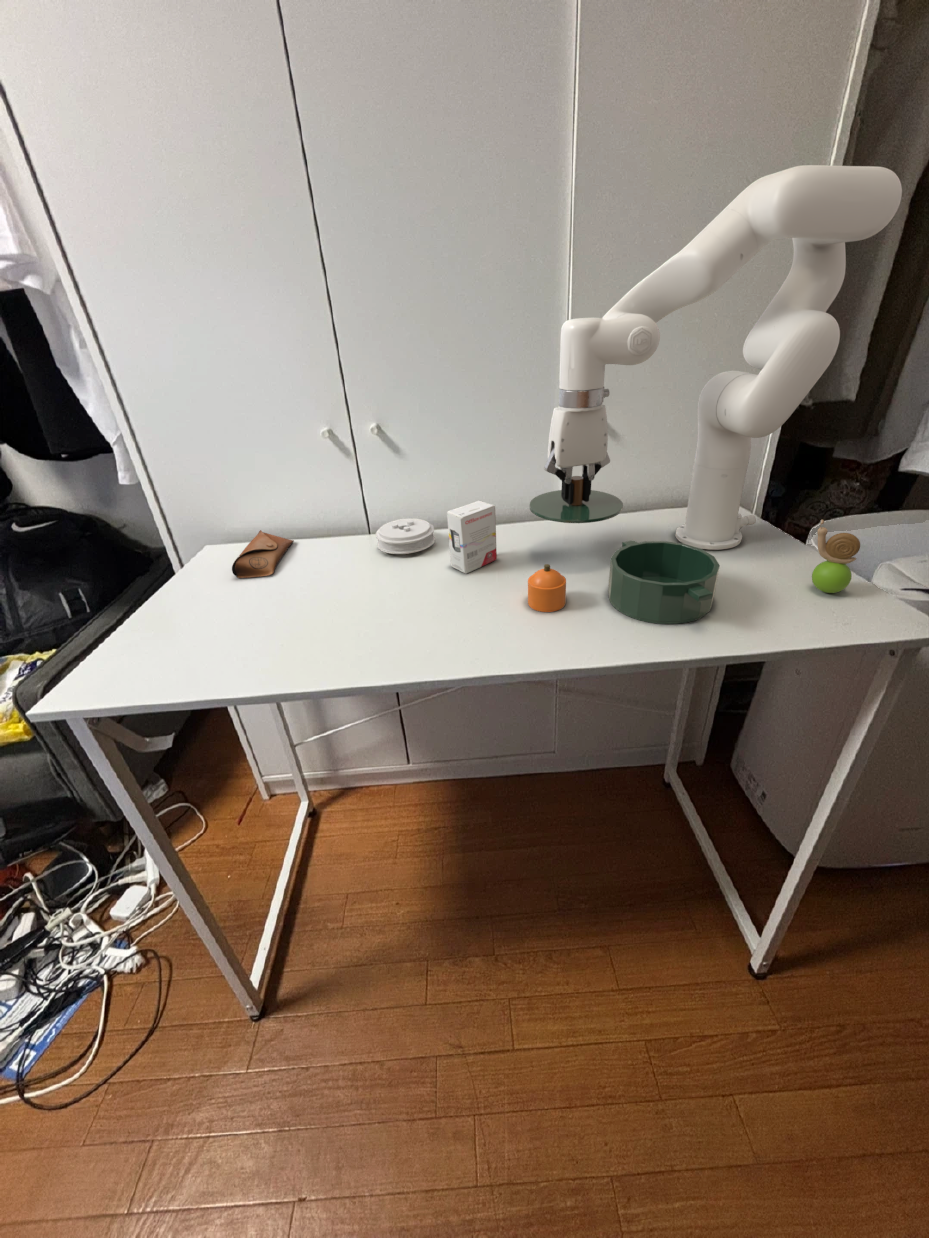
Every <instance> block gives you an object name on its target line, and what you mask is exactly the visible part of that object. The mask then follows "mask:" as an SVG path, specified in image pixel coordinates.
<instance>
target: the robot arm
mask: <svg viewBox="0 0 929 1238" xmlns="http://www.w3.org/2000/svg"><path fill="white" fill-rule="evenodd" d="M902 188H903V187H902V182H901V180H900V178H899V177H898V175H897V173H896V172H895V171H893V170H892V169H890V168H887V167H886V166H885V167H883V166H872V165H863V166H862V165H827V164H825V165H823V164H806V165H805V164H804V165H803V164H802V165H796V166H792V167H788V168H786V169H783V170H779V171H777V172H774V173H770V174H766V175H764V176H762V177H760V178H758V179H756V180H754V181H753V182H751V183H750V184H749V185H748V186H746V188H744V189H743V190H742V191H741V192H740V193H739V194H738V195H737V196H736V197H735V198H733V200H732V201H731V202H729V203H728V204H727V206H725V208H723V210H721V211H720V212H719V213H718V214H717V215H716V216H715V217H714V218H713V219H712V220H711V221H710V222H709V223H708V224H707V225H706V226H705V227H704V228H703V229H702V230H701V231H700V232H699V233H698V234H697V235H695V236H694V238H692V240H690V241H689V242H688V243H687V244H686V245H685V246H684V247H683V248H682V249H680V251H678V252H676V253H675V254H674V255H672V256H671V257H669V259H667V260H666V261H665V262H663V263H662V264H661V265H660V266H659V267H657V268H656V269H655V270H653V271H651V273H649V274H648V275H647V276H645V277H644V278H643V279H641V280H640V281H639V282H638V283H636V284H635V285H634V286H633V287H632V288H631V289H630V290H628V291H627V292H626V293H625V294H624V295H623V296H622V297H621V298H620V299H619V300H618V301H617V302H616V303H614V305H613V306H612V307H611V308H610V309H609V310H607V312H606V313H605V314H604V315H603V316H602V317H575V318H571V319H567V320H566V321H564V322H563V324H562V325H561V328H560V345H559V346H560V348H559V349H560V350H559V380H558V381H559V382H558V406H556V407H554V408H553V411H552V415H551V420H550V425H549V434H548V442H547V461H546V462H545V465H544V467H543V470H544V471H545V472H547V473H550V474H551V475H554V476H556V477H557V478H558V479H559V480H560V481H561V489H560V490H561V496H562V499H563V501H565V502H566V503H568V504H569V505H570V504H572V503H573V494H574V484H573V483H571V481H572V480H571V479H572V476H573V471H574V469H573V468H574V467H580V466H581V476H582V477H584V486H583V501H585V502H588V501H589V495H590V494H591V490H592V481H594V480H595V477H596V475H597V474H598V472H600V470H601V469H602V468H604V467H605V466H607V465H608V464H610V462H611V457H610V456H609V453H608V441H609V440H608V439H609V438H608V437H609V435H608V433H609V431H608V428H609V427H608V415H607V409H606V408H607V407H606V405H604V404H603V403H604V399H605V398H608V397H610V389H609V388H605V373H606V371H605V370H606V365H618V366H619V365H620V366H635V365H640V364H643V363H645V362H646V361H647V360H649V359H651V357H652V356H653V355H654V354H655V353H656V351H657V349H658V347H659V344H660V339H661V333H660V328H659V326H658V324H657V323H658V322H660V321H661V320H663V319H664V318H665V317H668V315H670V314H672V313H673V312H676V311H678V310H681V309H682V308H685V307H687V306H690V305H692V304H696V303H697V302H699V301H701V300H704V299H706V298H707V297H709V296H711V295H713V294H715V293H716V292H717V291H718V290H720V289H721V288H722V286H723V285H725V284H726V283H727V282H728V281H729V280H730V279H731V278H732V277H734V276H735V274H736V273H737V272H739V270H740V269H742V268H743V267H744V266H745V265H746V264H747V263H748V262H749V261H750V260H751V259H752V258H754V257H755V256H756V255H757V254H758V253H759V252H760V251H761V250H762V249H764V247H765V246H767V245H768V244H770V243H771V242H773V241H780V240H786V239H787V240H788V239H792V245H793V247H792V248H793V256H792V263H791V267H790V269H789V272H788V274H787V276H786V277H785V280H783V283H782V284H781V286H780V288H779V289H778V291H777V292H776V294H774V296H773V298H772V299H771V300H770V302H769V303H768V305H767V306H766V308H765V310H764V311H763V312H762V313H761V315H760V316H759V318H758V319H757V321H756V322H755V324H754V325H753V327H752V328H751V329H750V331H749V332H748V335H747V336H746V338H745V341H744V343H743V346H742V355H743V356H742V357H743V358H744V361H745V363H747V364H748V366H750V367H753V368H755V369H757V370H760V371H759V373H758V374H757V373H752V372H747V371H744V370H743V371H742V370H726V371H723V372H719V373H717V374H715V375H713V376H712V377H711V378H710V379H709V380H708V381H707V382H706V383H705V384H704V386H703V388H702V389H701V391H700V392H699V393H700V394H699V396H698V399H697V407H696V408H697V411H696V412H697V415H696V416H697V418H696V419H697V437H696V438H697V439H696V446H695V447H696V448H695V454H694V461H693V467H692V474H691V480H690V486H689V492H688V500H687V506H686V507H687V508H686V513H685V521H684V523H683V524H681V525H679V526H678V527H676V529H675V533H674V534H675V535H674V536H675V539H677V541H679V543H682V544H686V545H690V546H693V547H696V548H700V549H702V550H709V551H710V550H711V551H713V550H714V551H718V550H719V551H720V550H721V551H722V550H729V549H732V548H735V547H737V546H739V545H740V544H741V542H742V539H743V534H742V532H741V531H740V529H742V528H743V527H744V526H745V527H747V526H752V525H755V524H756V522H757V517H756V515H754V514H752V515H745V516H742V514H741V513H740V506H741V501H742V496H743V491H744V487H745V481H746V477H747V473H748V466H749V463H750V458H751V451H752V438H753V439H760V438H763V437H767V436H769V435H772V434H773V433H775V432H776V431H777V430H778V429H780V428H781V427H782V426H783V425H784V424H785V423H786V421H788V420H789V418H790V417H791V416H792V414H794V412H795V411H796V410H797V409H798V407H799V405H800V404H801V403H802V402H803V400H804V399H805V398H806V397H807V395H808V394H809V393H810V392H811V390H812V389H813V387H814V386H815V385H816V383H817V382H818V381H819V379H820V378H821V377H822V376H823V374H824V373H825V372H826V370H827V369H828V368H829V366H830V364H831V363H832V361H833V359H834V357H835V355H836V353H837V350H838V347H839V344H840V338H841V330H840V329H841V328H840V325H839V323H838V321H837V320H836V318H835V317H834V316H833V315H832V314H830V313H829V312H827V311H828V309H829V308H830V306H831V305H832V304H833V302H834V301H835V299H836V297H837V296H838V294H839V292H840V291H841V288H842V286H843V283H844V279H845V276H846V266H847V261H846V260H847V258H846V257H847V255H846V243H851V242H859V241H862V240H867V239H869V238H871V237H873V236H875V235H877V234H878V233H879V232H881V231H882V230H883V229H884V228H886V226H888V225H889V223H890V222H891V221H892V220H893V218H894V216H895V215H896V213H897V212H898V210H899V207H900V204H901V202H902V197H903V196H902V194H903V189H902ZM556 466H557V467H556ZM558 467H559V468H558Z"/></svg>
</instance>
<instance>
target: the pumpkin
mask: <svg viewBox="0 0 929 1238" xmlns="http://www.w3.org/2000/svg"><path fill="white" fill-rule="evenodd" d="M566 594H567V578H566V577H565V576H564V575H562V574H561V573H560V572H559V571H558V570H556V569H554V568H551V564H549V563H545V564H543V568H540V569H538V570H536V571H535V572H534V573H533V574H532V575H530V576H529V577H528V579H527V605H528V606H529V608H531V609H532V610H534V611H537V612H540V613H552V612H554V613H555V612H557V611H559V610H562V609H563V608H564V607H565V605H566V597H567V595H566Z"/></svg>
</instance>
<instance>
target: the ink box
mask: <svg viewBox="0 0 929 1238" xmlns="http://www.w3.org/2000/svg"><path fill="white" fill-rule="evenodd" d="M496 518H497V517H496V506H495V505H494V504H492V503H488V502H485V501H482V500H476V501H474V502H471V503H468V504H465V505H462V506H459V507H455V508H452V509H450V510H447V511H446V519H447V532H448V542H449V543H448V544H449V555H450V567H451V568H453V569H455V570H457V571H459V572H461V573H463V574H465V575H467V574H469V573H471V572H474V571H475V570H477V569H480V568H482V567H485V566H486V565H488V564H490V563H492V562H495V561H497V560H498V559H497V557H498V553H497V552H498V551H497V523H496V521H497V520H496Z"/></svg>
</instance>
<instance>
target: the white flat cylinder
mask: <svg viewBox="0 0 929 1238" xmlns="http://www.w3.org/2000/svg"><path fill="white" fill-rule="evenodd" d="M434 532H435V527H434V525H433V524H432V523H430V522H428V521H427V520H424V519H421V518H412V517H411V518H410V517H409V518H400V519H394V520H392V521H391V520H390V521H388V522H386V523H384V524H382V525H381V526H380V527H379V528H378V529H377V530H376V532H375V538H376V539H377V543H376V546H377V548H378V549H379V550H380V551H381V552H383V553H387V554H392V555H406V554H413V553H417V552H422V551H425V550H426V549H428V548H430V547H431V546H433V545H434V543H435V542H436V537H435V535H434Z"/></svg>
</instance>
